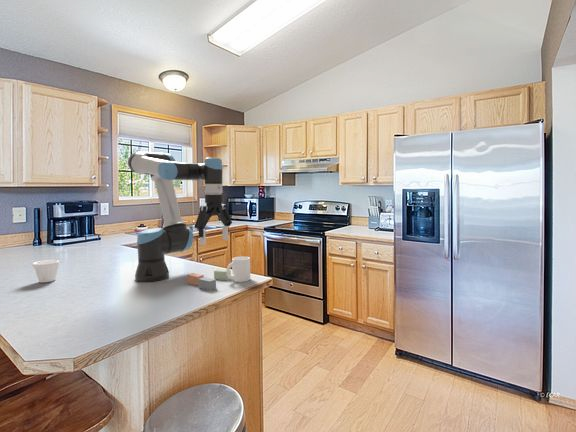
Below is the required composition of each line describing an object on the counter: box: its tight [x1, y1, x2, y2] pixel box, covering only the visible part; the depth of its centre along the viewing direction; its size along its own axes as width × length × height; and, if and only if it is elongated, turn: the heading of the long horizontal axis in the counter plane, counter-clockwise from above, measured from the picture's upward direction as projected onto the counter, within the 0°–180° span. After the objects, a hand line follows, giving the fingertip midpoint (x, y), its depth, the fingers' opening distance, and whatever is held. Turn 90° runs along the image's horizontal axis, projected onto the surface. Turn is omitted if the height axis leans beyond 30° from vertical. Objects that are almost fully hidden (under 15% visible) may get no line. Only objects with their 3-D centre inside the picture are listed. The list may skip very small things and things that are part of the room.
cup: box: [32, 259, 60, 284], centre depth 149 cm, size 10×10×9 cm
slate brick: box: [198, 276, 217, 291], centre depth 137 cm, size 7×4×4 cm, turn 56°
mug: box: [225, 255, 251, 283], centre depth 147 cm, size 12×8×10 cm
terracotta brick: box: [186, 272, 205, 286], centre depth 144 cm, size 7×4×4 cm, turn 59°
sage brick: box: [213, 268, 232, 281], centre depth 151 cm, size 7×4×4 cm, turn 72°
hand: (214, 242), depth 141 cm, fingers open, 13 cm apart
